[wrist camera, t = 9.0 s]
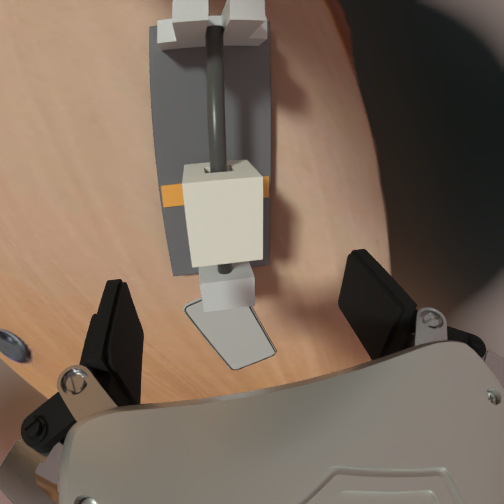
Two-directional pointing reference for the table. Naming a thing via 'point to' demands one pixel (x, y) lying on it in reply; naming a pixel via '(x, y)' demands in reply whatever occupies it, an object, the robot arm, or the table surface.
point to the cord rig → (211, 123)
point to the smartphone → (232, 334)
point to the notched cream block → (223, 213)
